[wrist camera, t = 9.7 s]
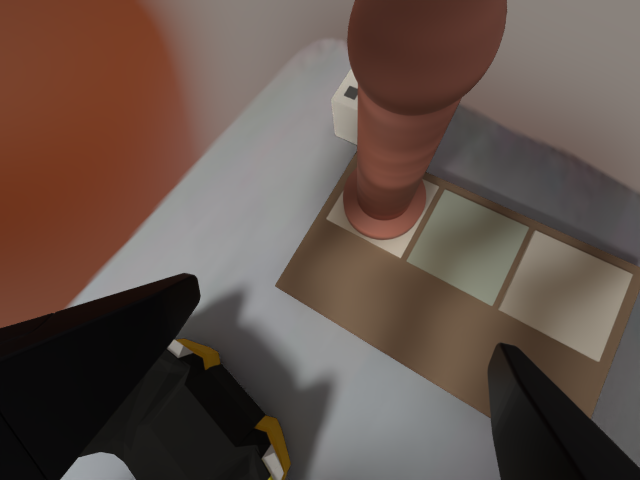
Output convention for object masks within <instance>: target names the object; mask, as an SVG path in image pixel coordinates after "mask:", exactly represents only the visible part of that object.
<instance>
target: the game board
mask: <svg viewBox="0 0 640 480" xmlns="http://www.w3.org/2000/svg"><path fill="white" fill-rule="evenodd" d="M356 168H357V152H356V153H355V155H354V157H353V158H352V160H351V162H350V163H349V165H348V167H347V168H346V170H345V171H344V173H343V175H342V176H341V178H340V180H339V181H338V183H337V185H336V186H335V188H334V189H333V191H332V193H331V194H330V196H329V198H328V199H327V201H326V203H325V204H324V206H323V208H322V209H321V211H320V212H319V214H318V216H317V217H316V219H315V221H314V222H313V224H312V226H311V227H310V229H309V231H308V232H307V234H306V235H305V237H304V239H303V240H302V242H301V244H300V245H299V247H298V249H297V250H296V252H295V253H294V255H293V257H292V258H291V260H290V262H289V263H288V265H287V267H286V268H285V270H284V272H283V273H282V275H281V276H280V278H279V280H278V281H277V283H276V285H275V286H276V287H277V288H279V289H280V290H282V291H284V292H285V293H287V294H289V295H290V296H292V297H294V298H295V299H297V300H298V301H300V302H302V303H303V304H305V305H307V306H308V307H310V308H312V309H313V310H315V311H316V312H318V313H320V314H321V315H323V316H325V317H326V318H328V319H329V320H331V321H333V322H334V323H336V324H338V325H339V326H341V327H343V328H344V329H346V330H347V331H349V332H351V333H352V334H354V335H356V336H357V337H359V338H360V339H362V340H364V341H365V342H367V343H369V344H370V345H372V346H374V347H375V348H377V349H378V350H380V351H382V352H383V353H385V354H387V355H388V356H390V357H392V358H393V359H395V360H396V361H398V362H400V363H401V364H403V365H405V366H406V367H408V368H409V369H411V370H413V371H414V372H416V373H418V374H419V375H421V376H423V377H424V378H426V379H427V380H429V381H431V382H432V383H434V384H436V385H437V386H439V387H440V388H442V389H444V390H445V391H447V392H449V393H450V394H452V395H454V396H455V397H457V398H458V399H460V400H462V401H463V402H465V403H467V404H468V405H470V406H472V407H473V408H475V409H476V410H478V411H480V412H481V413H483V414H485V415H486V416H488V417H489V418H491V414H490V401H489V388H488V376H487V370H488V365H489V362H490V359H491V357H492V354H493V352H494V349H495V346H496V345H497V344H498V343H500V342H502V343H507V344H511V345H515V346H517V347H518V348H520V349H521V350H522V351H523V352H524V353H525V354H526V355H527V356H528V357H529V358H530V359H531V360H532V361H533V362H534V363H535V364H536V365H537V366H538V367H539V368H540V369H541V370H542V371H543V372H544V373H545V374H546V375H547V376H548V377H549V378H550V379H551V380H552V381H553V382H554V383H555V384H556V385H557V386H558V387H559V388H560V389H561V390H562V391H563V392H564V393H565V394H566V395H567V396H568V397H569V398H570V399H571V400H572V401H573V402H574V403H575V404H576V405H577V406H578V407H579V408H580V409H581V410H582V411H583V412H584V413H585V414H586V415H587V416H588V417H589V418H590V419H591V416H592V414H593V411H594V408H595V406H596V403H597V401H598V398H599V395H600V393H601V390H602V387H603V385H604V382H605V379H606V377H607V374H608V372H609V369H610V366H611V364H612V361H613V358H614V356H615V353H616V351H617V348H618V345H619V343H620V340H621V337H622V335H623V332H624V329H625V327H626V324H627V322H628V319H629V316H630V314H631V311H632V308H633V306H634V303H635V301H636V298H637V295H638V293H639V290H640V267H638V266H636V265H633V264H631V263H629V262H627V261H624V260H622V259H620V258H618V257H616V256H613V255H611V254H609V253H607V252H604V251H602V250H600V249H598V248H595V247H593V246H591V245H589V244H586V243H584V242H582V241H580V240H577V239H575V238H573V237H571V236H568V235H566V234H564V233H562V232H559V231H557V230H555V229H553V228H550V227H548V226H546V225H544V224H542V223H539V222H537V221H535V220H533V219H530V218H528V217H526V216H524V215H521V214H519V213H517V212H515V211H512V210H510V209H508V208H506V207H503V206H501V205H499V204H497V203H494V202H492V201H490V200H488V199H485V198H483V197H481V196H479V195H476V194H474V193H472V192H470V191H468V190H465V189H463V188H461V187H459V186H456V185H454V184H452V183H450V182H447V181H445V180H443V179H441V178H438V177H436V176H434V175H432V174H429V173H427V172H425V174H424V176H423V178H422V180H423V183H424V185H425V189H426V204H425V207H424V210H423V212H422V214H421V216H420V217H419V219H418V220H417V222H416V223H415V225H414V226H413V227H412V228H411V229H410V230H409V231H408V232H407V233H405V234H404V235H402V236H400V237H397V238H394V239H389V240H376V239H371V238H369V237H366V236H364V235H362V234H360V233H359V232H358V231H356V230H355V229H354V228H353V227H352V225H351V224H350V223H349V221H348V219H347V217H346V214H345V211H344V204H343V190H344V186H345V183H346V181H347V179H348V177H349V176H350V174H351V173H352V172H353V171H354V170H355V169H356Z"/></svg>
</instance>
